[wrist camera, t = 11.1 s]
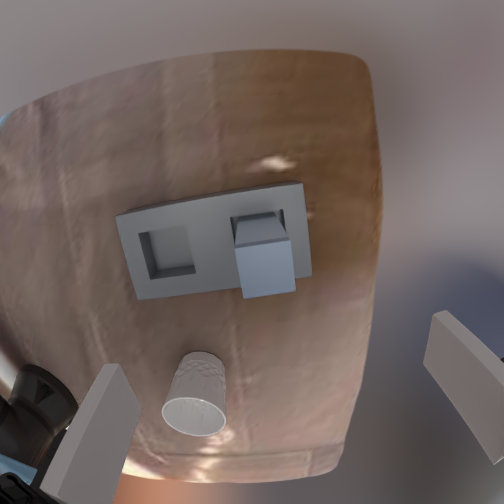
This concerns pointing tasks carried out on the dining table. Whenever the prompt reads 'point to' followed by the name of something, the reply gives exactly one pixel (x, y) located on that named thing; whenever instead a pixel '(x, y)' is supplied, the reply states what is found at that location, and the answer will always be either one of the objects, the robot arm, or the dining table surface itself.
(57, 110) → the dining table surface
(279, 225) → the plug
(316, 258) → the dining table surface
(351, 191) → the dining table surface
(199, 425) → the white cup
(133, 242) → the panel
